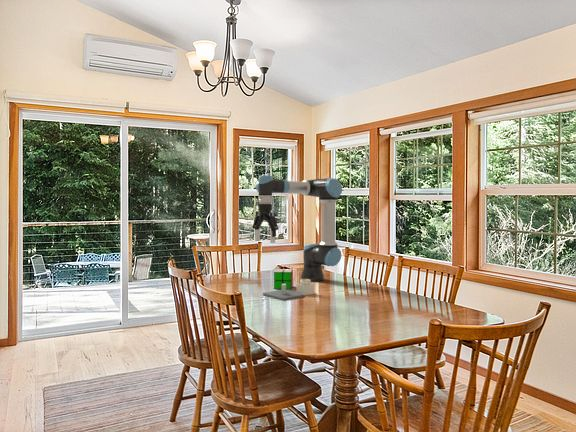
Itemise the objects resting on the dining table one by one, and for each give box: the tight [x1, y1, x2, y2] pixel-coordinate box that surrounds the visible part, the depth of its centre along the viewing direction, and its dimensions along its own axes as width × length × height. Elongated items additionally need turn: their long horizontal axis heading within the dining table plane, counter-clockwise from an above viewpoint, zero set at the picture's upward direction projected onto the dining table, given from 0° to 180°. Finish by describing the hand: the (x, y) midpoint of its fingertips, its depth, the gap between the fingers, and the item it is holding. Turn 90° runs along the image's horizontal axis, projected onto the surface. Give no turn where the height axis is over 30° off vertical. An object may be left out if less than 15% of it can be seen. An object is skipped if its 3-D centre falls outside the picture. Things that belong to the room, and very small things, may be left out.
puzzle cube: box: [273, 268, 294, 290], centre depth 268 cm, size 10×10×10 cm
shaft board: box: [262, 284, 306, 301], centre depth 244 cm, size 15×17×6 cm
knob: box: [296, 278, 315, 296], centre depth 251 cm, size 8×6×8 cm
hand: (265, 242), depth 252 cm, fingers open, 13 cm apart
